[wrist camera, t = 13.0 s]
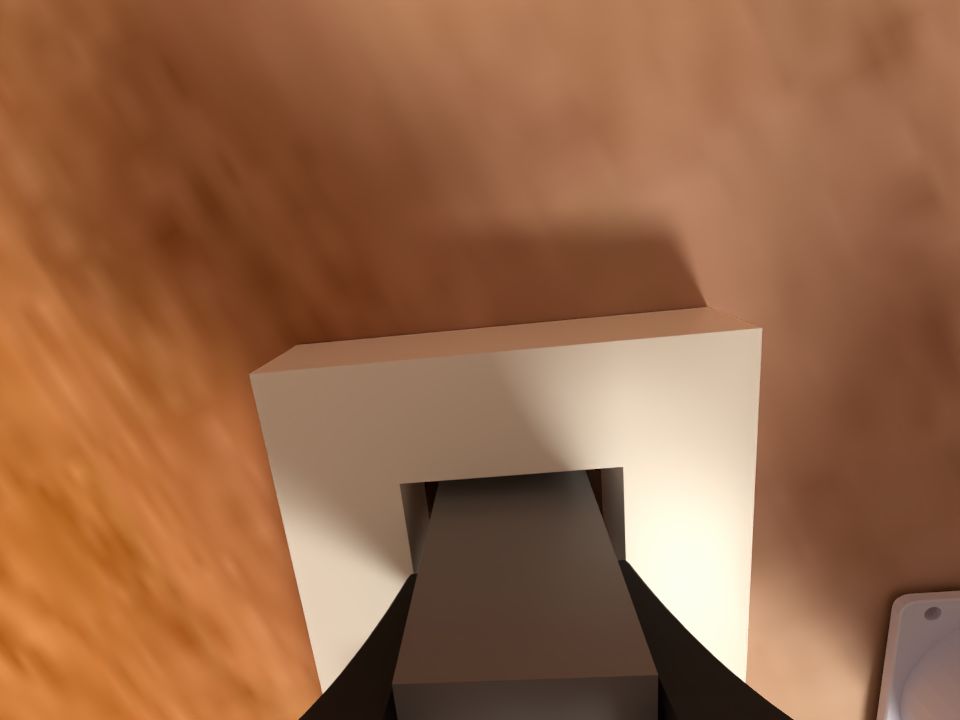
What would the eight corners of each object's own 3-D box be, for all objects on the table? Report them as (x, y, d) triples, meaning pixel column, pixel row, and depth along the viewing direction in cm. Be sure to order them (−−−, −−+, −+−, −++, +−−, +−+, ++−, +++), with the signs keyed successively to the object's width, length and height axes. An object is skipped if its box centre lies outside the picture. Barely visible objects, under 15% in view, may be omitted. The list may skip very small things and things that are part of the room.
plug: (581, 459, 14) (658, 675, 7) (585, 580, 15) (656, 865, 8) (441, 468, 14) (392, 684, 8) (455, 585, 15) (421, 867, 9)
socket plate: (708, 306, 14) (762, 328, 11) (698, 815, 19) (734, 919, 16) (296, 344, 15) (248, 374, 12) (394, 827, 20) (376, 929, 17)
